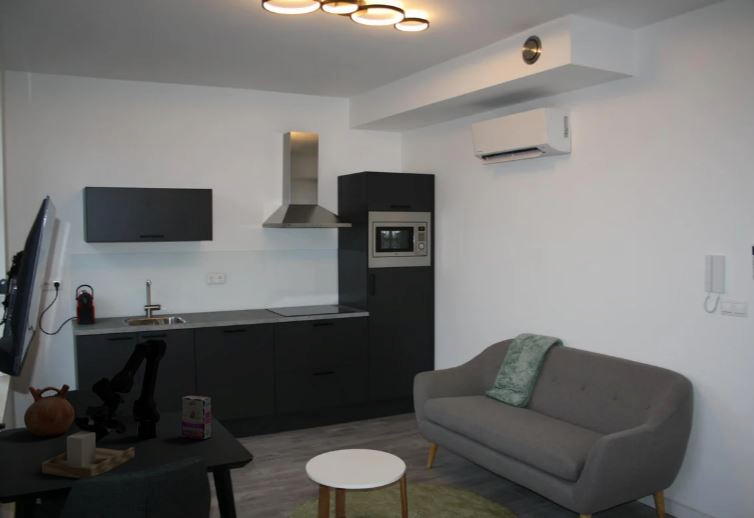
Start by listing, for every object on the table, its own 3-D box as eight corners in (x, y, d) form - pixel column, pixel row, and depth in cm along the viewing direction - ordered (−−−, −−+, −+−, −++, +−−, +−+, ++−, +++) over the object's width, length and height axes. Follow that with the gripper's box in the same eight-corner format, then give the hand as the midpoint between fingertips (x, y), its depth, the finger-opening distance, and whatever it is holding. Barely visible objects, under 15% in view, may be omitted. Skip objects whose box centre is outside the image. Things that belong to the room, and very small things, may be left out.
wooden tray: (88, 451, 247) (88, 442, 247) (134, 456, 242) (134, 447, 242) (41, 473, 224) (41, 463, 224) (91, 479, 219) (91, 469, 219)
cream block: (81, 459, 233) (80, 431, 233) (95, 460, 232) (95, 432, 231) (67, 465, 226) (66, 437, 226) (81, 467, 225) (81, 438, 225)
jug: (22, 442, 257) (21, 392, 257) (26, 430, 274) (25, 382, 273) (73, 437, 265) (73, 388, 264) (74, 425, 281) (74, 378, 280)
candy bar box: (211, 437, 266) (211, 397, 265) (204, 440, 261) (204, 400, 261) (189, 434, 270) (189, 394, 270) (181, 437, 266) (181, 397, 265)
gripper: (76, 394, 240) (54, 433, 229) (120, 398, 235) (100, 437, 224) (91, 410, 247) (70, 448, 237) (134, 414, 243) (115, 453, 232)
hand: (88, 446), depth 233 cm, fingers closed, pressing on cream block
